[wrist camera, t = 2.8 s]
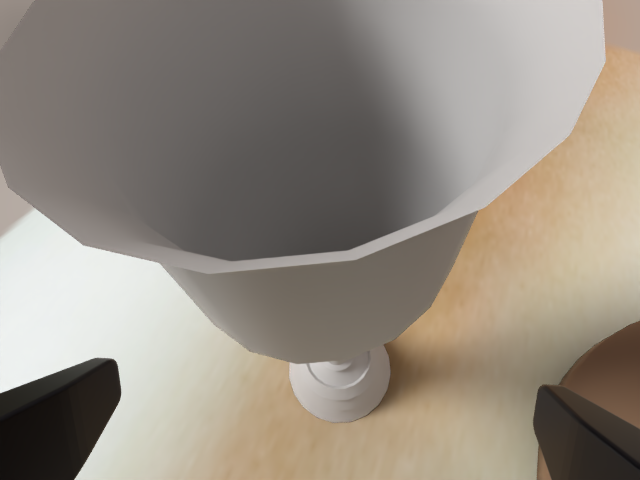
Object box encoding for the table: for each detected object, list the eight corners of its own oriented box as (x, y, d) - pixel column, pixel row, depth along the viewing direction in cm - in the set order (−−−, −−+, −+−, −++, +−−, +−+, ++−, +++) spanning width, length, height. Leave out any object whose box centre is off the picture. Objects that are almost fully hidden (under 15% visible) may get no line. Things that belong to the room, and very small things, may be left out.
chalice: (376, 478, 18) (528, 448, 2) (244, 408, 20) (-163, 132, 4) (428, 329, 21) (638, -101, 6) (310, 281, 23) (219, -140, 7)
